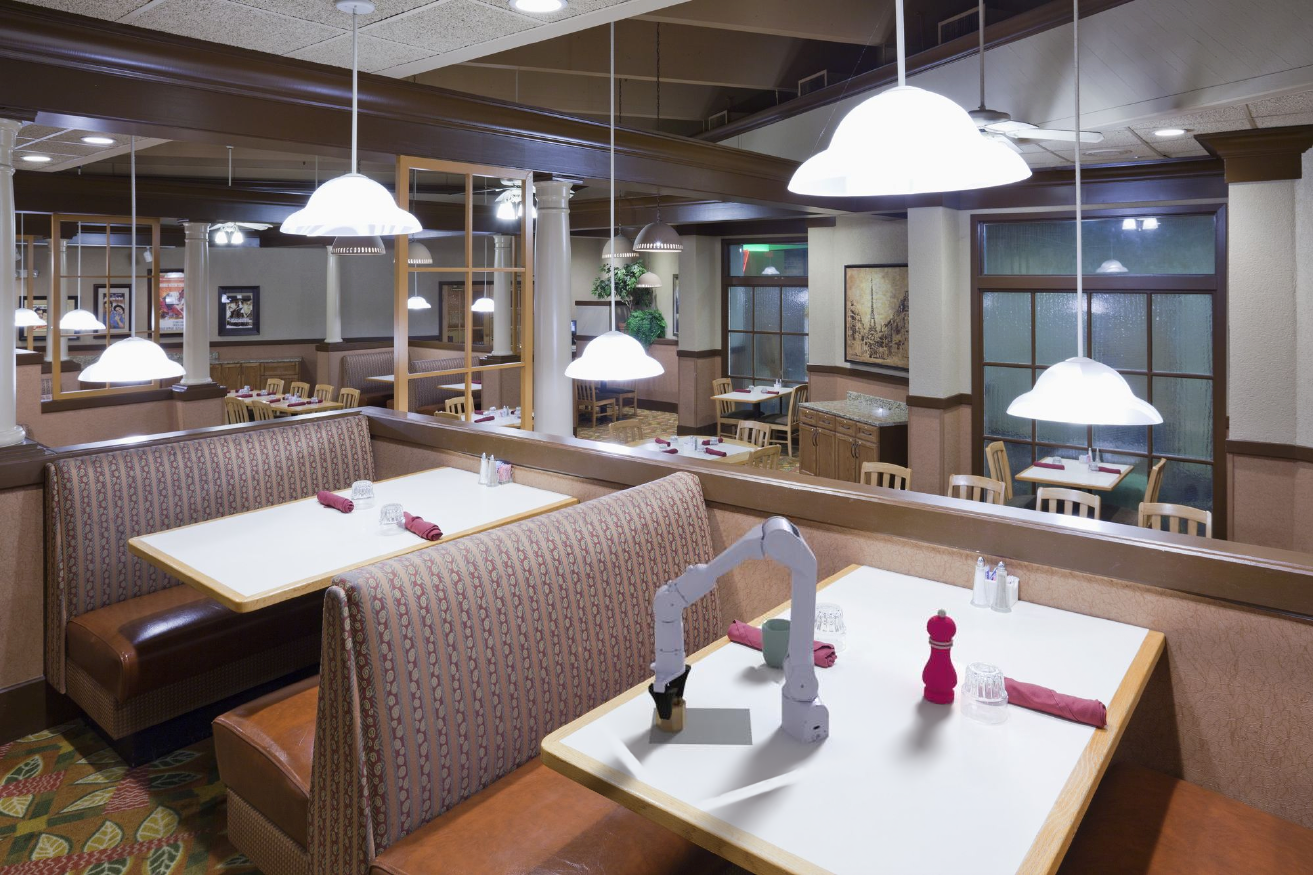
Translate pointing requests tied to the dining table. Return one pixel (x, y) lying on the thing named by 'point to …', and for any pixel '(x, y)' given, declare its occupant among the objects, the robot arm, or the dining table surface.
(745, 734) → the slate block
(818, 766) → the dining table surface
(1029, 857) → the dining table surface
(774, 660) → the cup
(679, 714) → the bronze ring
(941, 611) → the pepper mill
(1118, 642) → the dining table surface
